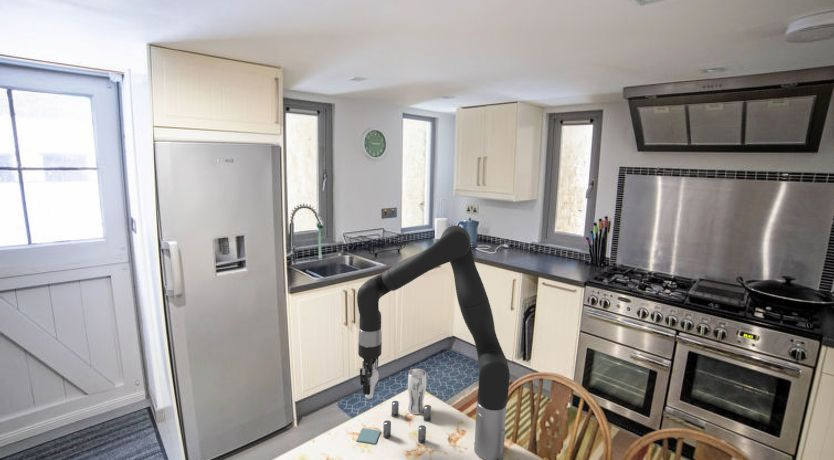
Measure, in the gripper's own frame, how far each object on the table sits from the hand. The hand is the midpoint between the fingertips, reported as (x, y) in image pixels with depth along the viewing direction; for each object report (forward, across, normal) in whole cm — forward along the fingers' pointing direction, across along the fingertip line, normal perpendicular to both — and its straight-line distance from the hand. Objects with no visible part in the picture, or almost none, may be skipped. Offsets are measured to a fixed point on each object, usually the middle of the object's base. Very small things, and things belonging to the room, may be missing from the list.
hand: (369, 388), depth 134 cm
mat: (+18, 0, 0) cm, 18 cm away
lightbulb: (+4, 0, 0) cm, 4 cm away
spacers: (+18, -8, +12) cm, 23 cm away
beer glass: (+18, -18, +13) cm, 29 cm away
